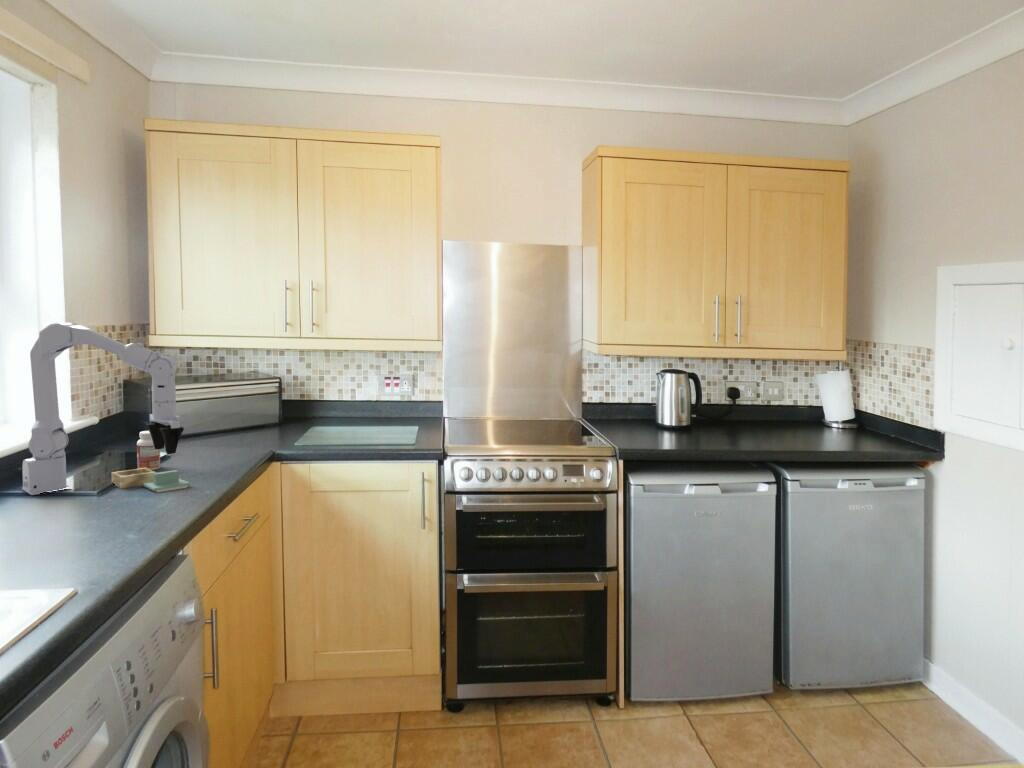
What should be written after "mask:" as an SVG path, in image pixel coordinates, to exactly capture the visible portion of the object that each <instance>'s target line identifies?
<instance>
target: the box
mask: <svg viewBox="0 0 1024 768" xmlns="http://www.w3.org/2000/svg"><path fill="white" fill-rule="evenodd" d="M153 473H157V471H155V470H150V469H148V468H140V469H138V468H134V469H128V470H127V469H126V470H120V471H119V470H118V471H112V472H111V483H112V482H113V483H114V484H115V485H114V486H115V487H117V488H119V489H121V490H123V489H130V488H135V487H144V486H143V483H148V482H153Z"/></svg>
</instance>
